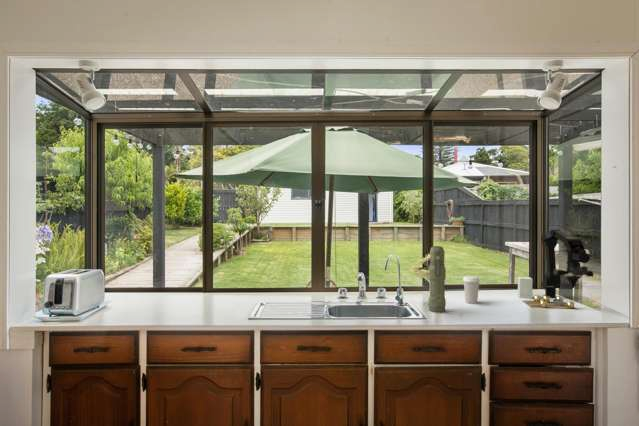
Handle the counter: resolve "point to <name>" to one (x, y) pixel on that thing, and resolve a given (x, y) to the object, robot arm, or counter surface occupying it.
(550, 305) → the walnut board
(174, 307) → the counter surface
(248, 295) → the counter surface
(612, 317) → the counter surface
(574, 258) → the robot arm
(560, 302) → the steel nut
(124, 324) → the counter surface
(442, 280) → the green bumpy column
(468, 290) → the coffee cup
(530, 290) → the supplement box
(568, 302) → the brass spacers
